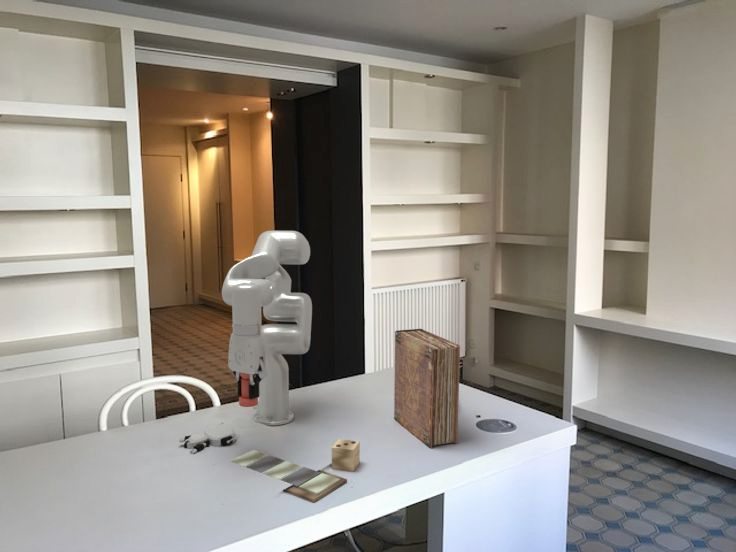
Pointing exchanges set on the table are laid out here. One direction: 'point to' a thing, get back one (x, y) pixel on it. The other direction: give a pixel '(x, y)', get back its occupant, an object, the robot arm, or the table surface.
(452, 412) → the book
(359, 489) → the table surface
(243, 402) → the pawn
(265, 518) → the table surface
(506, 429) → the table surface
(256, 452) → the board
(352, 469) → the die
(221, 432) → the robot toy
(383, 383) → the table surface
